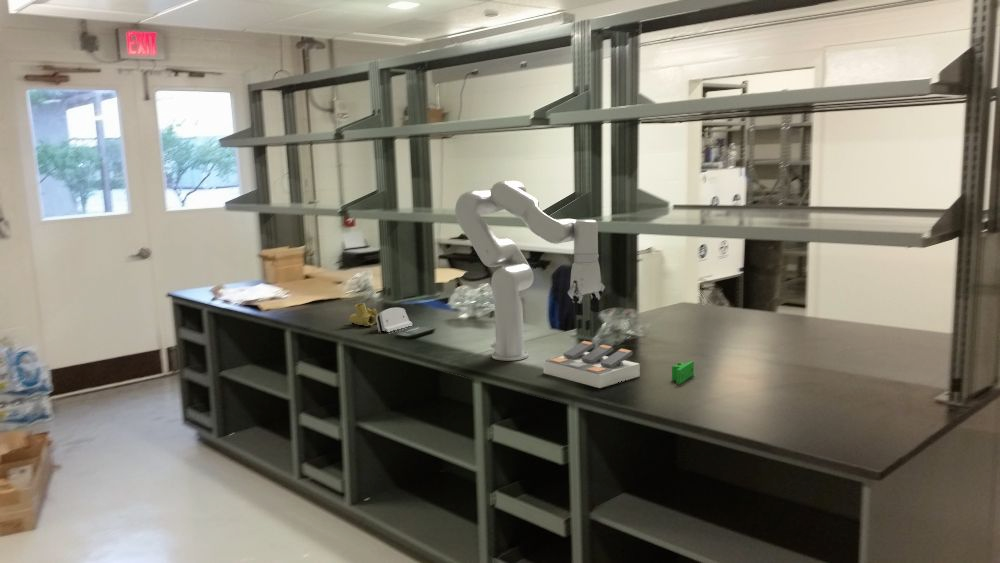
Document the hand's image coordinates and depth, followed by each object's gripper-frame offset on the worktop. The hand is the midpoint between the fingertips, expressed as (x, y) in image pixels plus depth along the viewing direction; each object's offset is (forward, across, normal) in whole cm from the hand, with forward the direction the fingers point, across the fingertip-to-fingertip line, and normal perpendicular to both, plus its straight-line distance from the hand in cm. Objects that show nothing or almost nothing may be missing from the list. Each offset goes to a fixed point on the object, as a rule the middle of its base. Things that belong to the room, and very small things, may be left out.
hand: (586, 312), depth 246 cm
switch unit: (+18, +7, +8) cm, 21 cm away
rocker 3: (+12, +4, +16) cm, 20 cm away
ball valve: (+18, +15, -117) cm, 119 cm away
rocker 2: (+12, +4, +8) cm, 15 cm away
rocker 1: (+12, +4, 0) cm, 12 cm away
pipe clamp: (+18, -9, +31) cm, 37 cm away
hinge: (+18, +12, -100) cm, 102 cm away
